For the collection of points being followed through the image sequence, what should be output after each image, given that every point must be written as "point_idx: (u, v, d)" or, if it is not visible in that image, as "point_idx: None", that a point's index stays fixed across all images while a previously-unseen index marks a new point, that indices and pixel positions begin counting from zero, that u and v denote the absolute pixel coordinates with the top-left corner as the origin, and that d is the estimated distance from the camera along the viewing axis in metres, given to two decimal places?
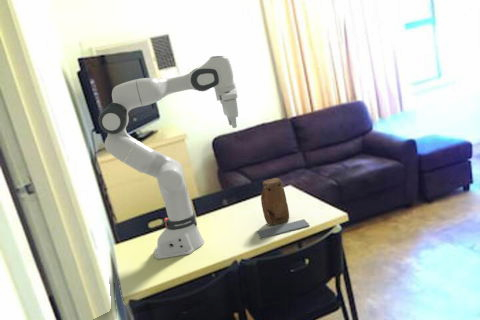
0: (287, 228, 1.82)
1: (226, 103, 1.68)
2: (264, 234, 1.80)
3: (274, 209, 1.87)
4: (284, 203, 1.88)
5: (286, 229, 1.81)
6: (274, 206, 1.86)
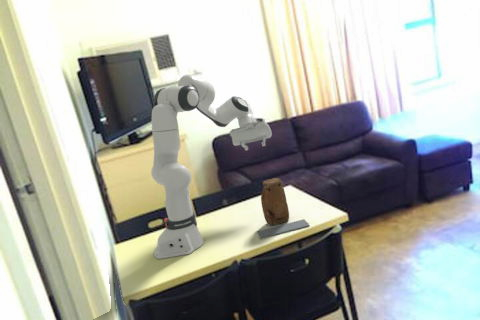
0: (287, 228, 1.82)
1: None
2: (264, 234, 1.80)
3: (274, 209, 1.87)
4: (284, 203, 1.88)
5: (286, 229, 1.81)
6: (274, 206, 1.86)
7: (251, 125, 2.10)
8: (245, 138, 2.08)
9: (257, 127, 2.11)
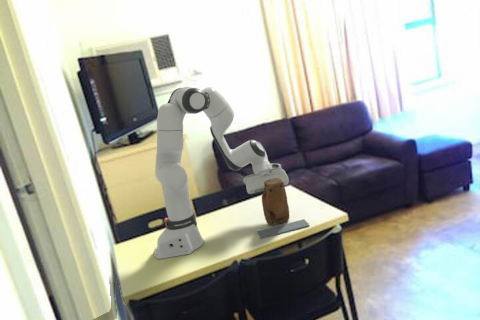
0: (287, 228, 1.82)
1: None
2: (264, 234, 1.80)
3: (274, 209, 1.86)
4: (285, 203, 1.87)
5: (286, 229, 1.81)
6: (274, 207, 1.86)
7: (267, 172, 1.97)
8: (260, 186, 1.94)
9: (273, 174, 1.97)
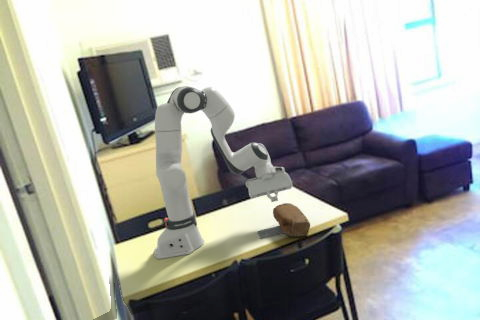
0: None
1: None
2: (264, 234, 1.80)
3: None
4: None
5: None
6: None
7: (270, 175, 1.91)
8: (263, 190, 1.88)
9: (276, 177, 1.91)
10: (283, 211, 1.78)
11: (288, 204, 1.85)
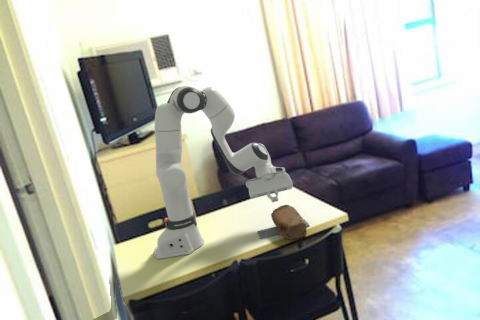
0: None
1: None
2: (264, 234, 1.80)
3: None
4: None
5: None
6: None
7: (270, 175, 1.90)
8: (263, 190, 1.87)
9: (276, 177, 1.91)
10: (279, 216, 1.78)
11: (284, 206, 1.85)
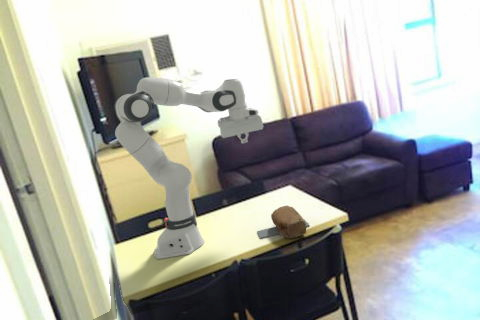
0: None
1: (259, 116, 1.93)
2: (264, 234, 1.80)
3: None
4: None
5: None
6: None
7: (243, 119, 1.91)
8: (235, 133, 1.93)
9: (249, 120, 1.92)
10: (278, 215, 1.79)
11: (284, 207, 1.86)
